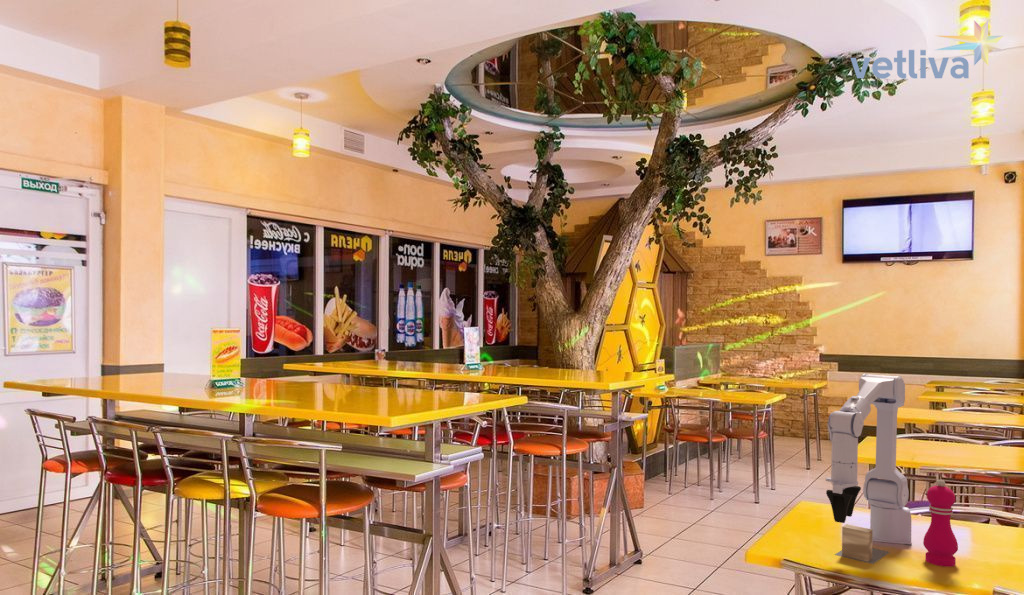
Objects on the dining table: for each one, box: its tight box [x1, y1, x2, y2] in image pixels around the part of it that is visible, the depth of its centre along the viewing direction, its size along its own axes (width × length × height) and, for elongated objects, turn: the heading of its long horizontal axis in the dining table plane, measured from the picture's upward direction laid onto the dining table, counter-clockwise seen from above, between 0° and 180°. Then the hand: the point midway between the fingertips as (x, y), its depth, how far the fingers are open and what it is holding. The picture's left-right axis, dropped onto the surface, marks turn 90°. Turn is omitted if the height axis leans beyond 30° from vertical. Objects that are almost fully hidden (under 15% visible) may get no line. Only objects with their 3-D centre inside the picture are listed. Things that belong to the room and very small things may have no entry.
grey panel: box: [834, 547, 890, 565], centre depth 181 cm, size 13×9×1 cm
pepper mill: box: [922, 479, 959, 568], centre depth 176 cm, size 7×7×20 cm
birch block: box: [841, 523, 873, 561], centre depth 178 cm, size 3×6×7 cm, turn 47°
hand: (843, 518), depth 175 cm, fingers open, 7 cm apart
